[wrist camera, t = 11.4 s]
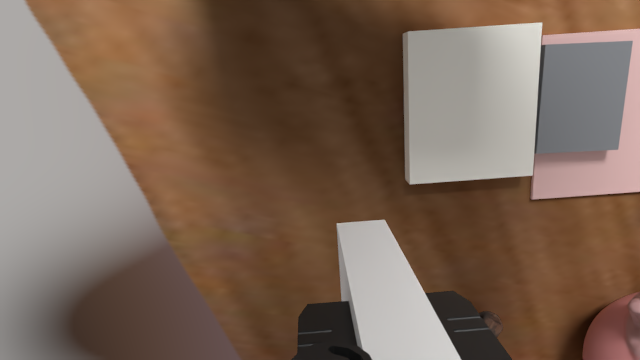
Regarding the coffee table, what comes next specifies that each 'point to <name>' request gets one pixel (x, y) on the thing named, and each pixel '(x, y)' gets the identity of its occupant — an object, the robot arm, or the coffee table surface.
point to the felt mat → (596, 166)
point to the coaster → (581, 96)
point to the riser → (470, 102)
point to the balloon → (615, 331)
